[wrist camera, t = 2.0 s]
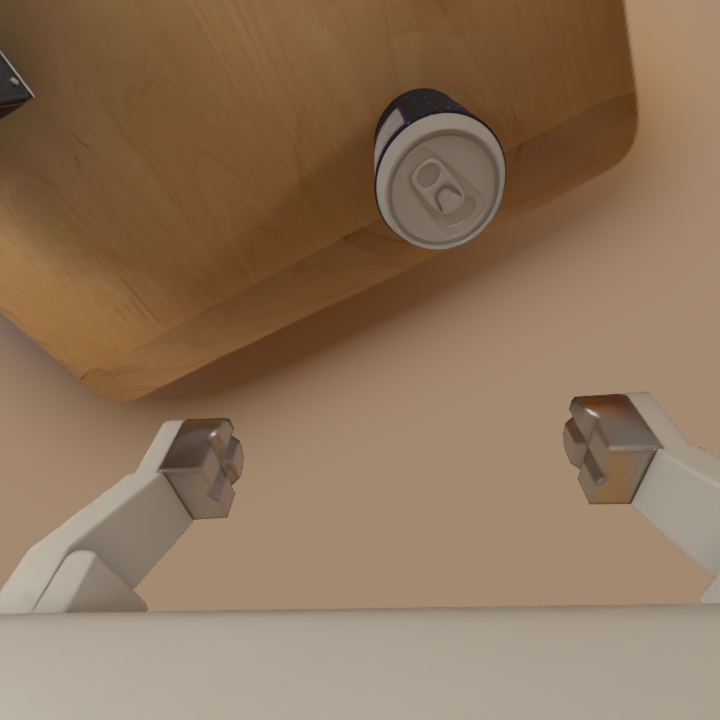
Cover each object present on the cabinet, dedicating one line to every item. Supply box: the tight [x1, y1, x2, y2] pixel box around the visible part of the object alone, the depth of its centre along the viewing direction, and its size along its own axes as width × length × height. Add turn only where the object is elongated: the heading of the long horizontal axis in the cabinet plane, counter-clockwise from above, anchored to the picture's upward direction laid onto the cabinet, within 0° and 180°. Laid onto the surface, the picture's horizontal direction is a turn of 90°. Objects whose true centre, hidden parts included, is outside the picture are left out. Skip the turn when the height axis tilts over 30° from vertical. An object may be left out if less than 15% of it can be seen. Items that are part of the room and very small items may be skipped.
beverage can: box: [374, 88, 506, 250], centre depth 22 cm, size 6×6×12 cm
